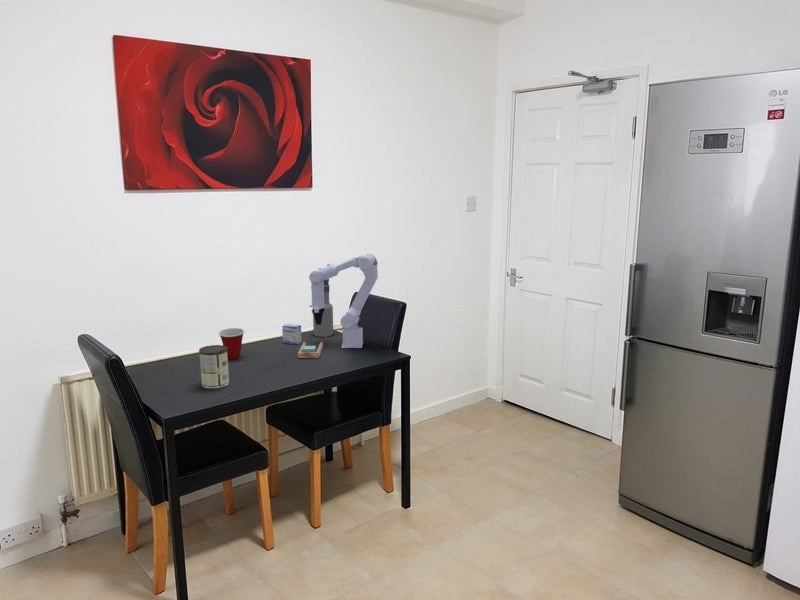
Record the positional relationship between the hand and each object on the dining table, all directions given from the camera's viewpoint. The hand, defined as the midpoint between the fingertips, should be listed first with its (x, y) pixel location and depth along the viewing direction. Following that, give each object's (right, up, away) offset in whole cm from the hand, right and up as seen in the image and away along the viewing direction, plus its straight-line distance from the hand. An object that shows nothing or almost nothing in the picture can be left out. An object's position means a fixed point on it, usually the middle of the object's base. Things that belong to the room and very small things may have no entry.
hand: (318, 324), depth 293 cm
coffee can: (-32, -21, -54) cm, 67 cm away
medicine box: (-13, -9, +4) cm, 16 cm away
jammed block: (-2, -13, -17) cm, 22 cm away
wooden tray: (-2, -12, -12) cm, 17 cm away
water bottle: (0, -6, +19) cm, 20 cm away
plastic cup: (-35, -14, -20) cm, 42 cm away
